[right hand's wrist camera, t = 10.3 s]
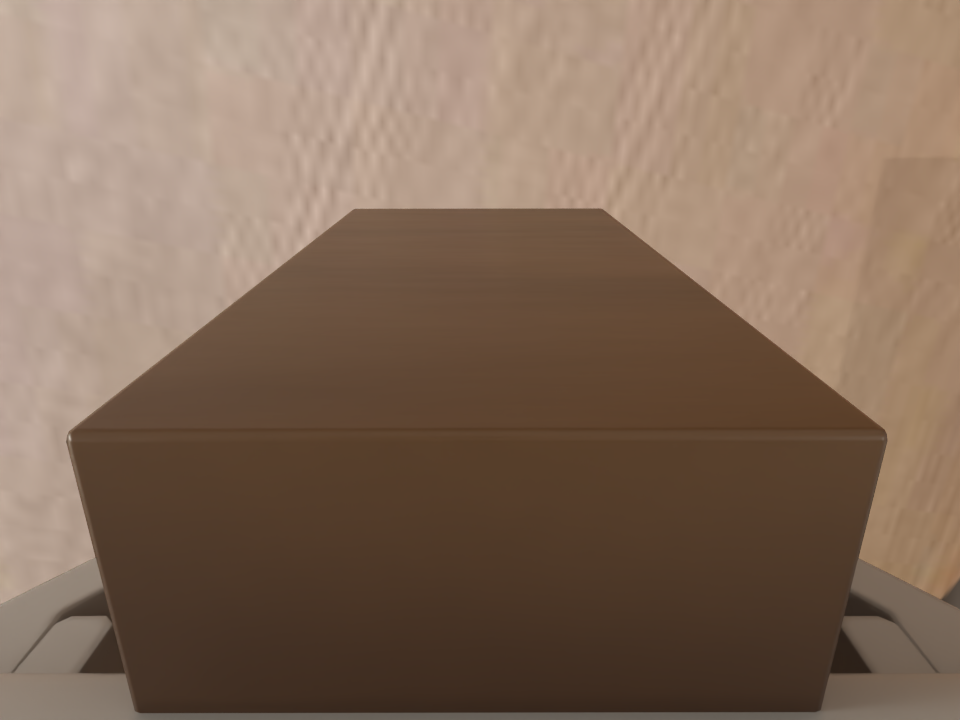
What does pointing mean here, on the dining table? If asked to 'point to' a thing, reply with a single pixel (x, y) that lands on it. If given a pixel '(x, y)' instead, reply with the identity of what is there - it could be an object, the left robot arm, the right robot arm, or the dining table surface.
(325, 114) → the dining table surface
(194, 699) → the bar
